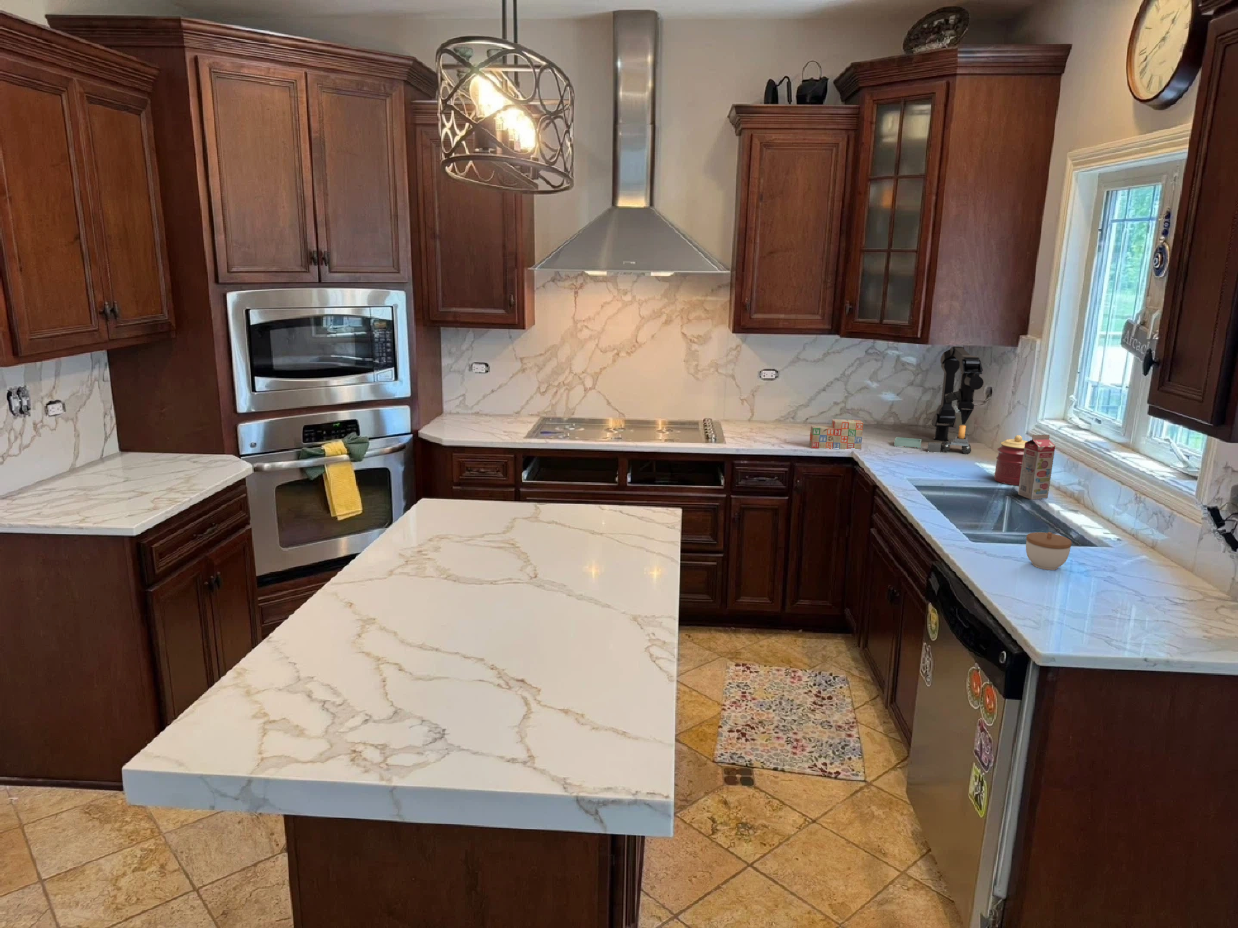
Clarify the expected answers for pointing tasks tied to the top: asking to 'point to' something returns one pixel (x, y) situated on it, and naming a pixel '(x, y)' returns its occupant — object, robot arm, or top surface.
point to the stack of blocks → (837, 435)
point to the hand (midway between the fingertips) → (963, 422)
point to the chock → (934, 447)
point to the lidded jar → (1047, 550)
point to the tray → (907, 442)
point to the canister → (1010, 461)
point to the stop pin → (961, 431)
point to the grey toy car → (956, 441)
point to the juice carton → (1036, 467)
